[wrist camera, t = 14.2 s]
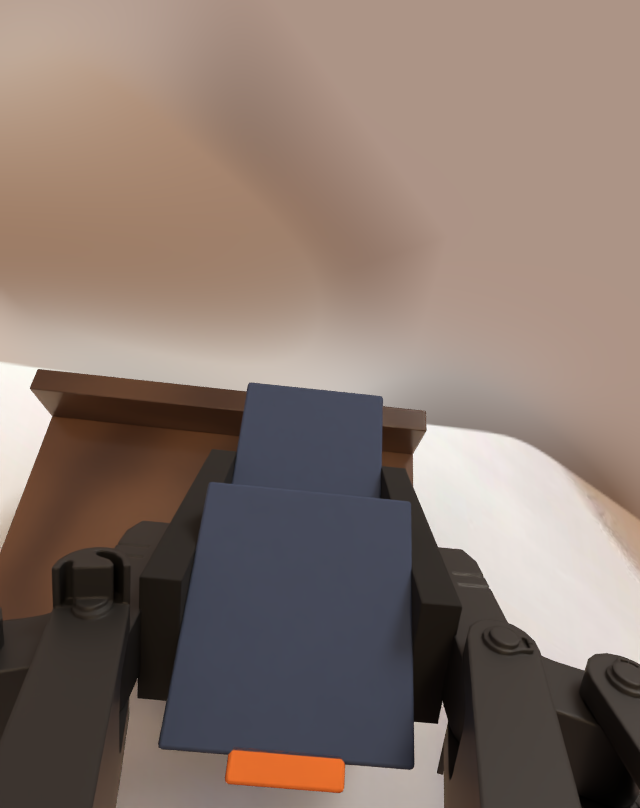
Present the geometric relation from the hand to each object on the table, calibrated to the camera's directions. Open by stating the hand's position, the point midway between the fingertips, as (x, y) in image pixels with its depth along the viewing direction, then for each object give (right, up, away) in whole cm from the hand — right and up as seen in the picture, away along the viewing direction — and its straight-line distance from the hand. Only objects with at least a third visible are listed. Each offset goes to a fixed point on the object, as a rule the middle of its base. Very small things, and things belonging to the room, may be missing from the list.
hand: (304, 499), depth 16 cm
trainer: (0, -3, +2) cm, 4 cm away
